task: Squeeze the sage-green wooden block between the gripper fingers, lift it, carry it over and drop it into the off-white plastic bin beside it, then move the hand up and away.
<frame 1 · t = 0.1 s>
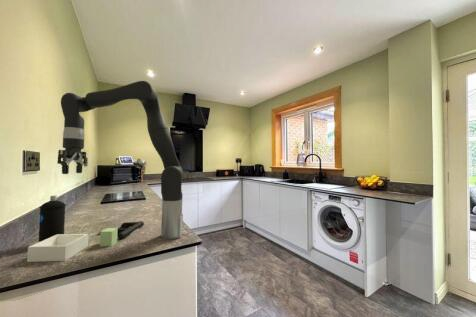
hand: (72, 173, 89), 29 cm above the counter, tool pointing down, fingers open, 8 cm apart
aerosol can: (51, 244, 82), on the counter
green block: (108, 244, 83), on the counter
door handle: (121, 232, 97), on the counter
white bin: (60, 253, 73), on the counter
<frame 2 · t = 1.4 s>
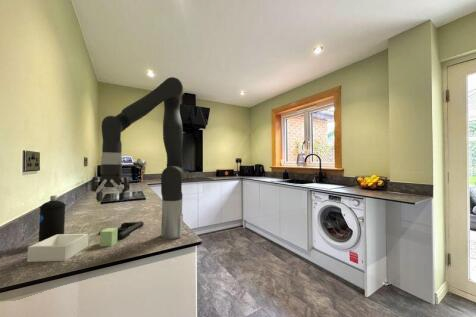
hand: (110, 201, 83), 18 cm above the counter, tool pointing down, fingers open, 8 cm apart
nothing on the counter moved.
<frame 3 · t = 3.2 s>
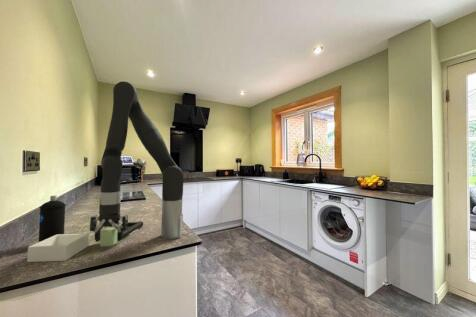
hand: (108, 240, 83), 1 cm above the counter, tool pointing down, fingers open, 8 cm apart
nothing on the counter moved.
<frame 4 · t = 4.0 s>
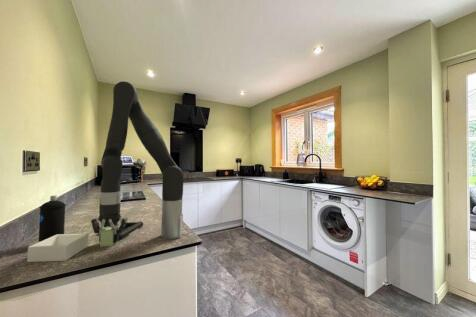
hand: (108, 242, 83), 1 cm above the counter, tool pointing down, fingers closed on green block, 4 cm apart
green block: (108, 243, 83), on the counter, touching gripper
everything else where it was.
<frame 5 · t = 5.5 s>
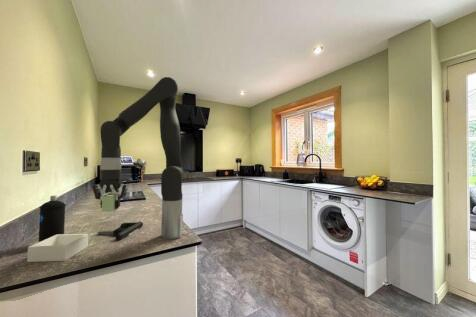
hand: (110, 208, 83), 15 cm above the counter, tool pointing down, fingers closed on green block, 4 cm apart
green block: (110, 210, 83), point 14 cm above the counter, touching gripper
everything else where it was.
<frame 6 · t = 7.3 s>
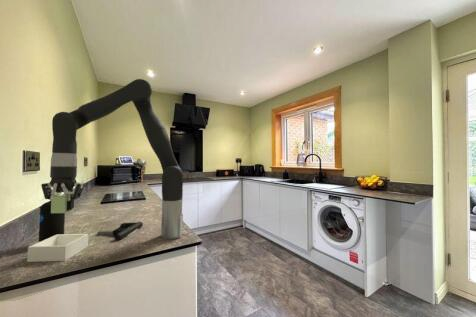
hand: (62, 210, 74), 16 cm above the counter, tool pointing down, fingers closed on green block, 4 cm apart
green block: (62, 211, 74), point 16 cm above the counter, touching gripper
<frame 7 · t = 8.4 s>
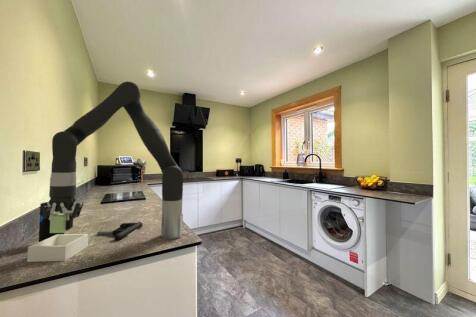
hand: (61, 229, 74), 9 cm above the counter, tool pointing down, fingers closed on green block, 4 cm apart
green block: (61, 230, 74), point 8 cm above the counter, touching gripper
when the fingers open (4 cm above the counter, at t = 10.1 s): green block drops 3 cm, resting on white bin.
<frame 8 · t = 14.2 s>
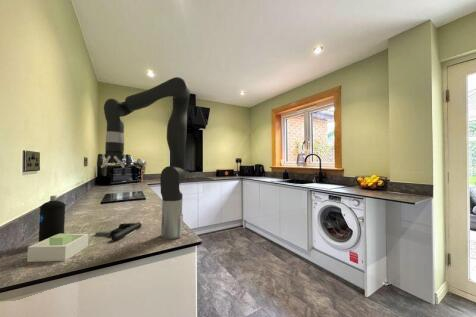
hand: (113, 175, 93), 28 cm above the counter, tool pointing down, fingers open, 8 cm apart
green block: (60, 251, 73), point 1 cm above the counter, touching white bin
at the end: green block inside the target area on the white bin (0.1 cm from its centre), point 0.6 cm above the white bin's base; the gripper is holding nothing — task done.
